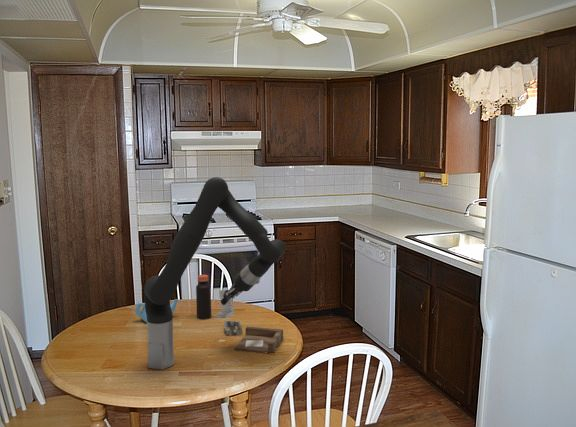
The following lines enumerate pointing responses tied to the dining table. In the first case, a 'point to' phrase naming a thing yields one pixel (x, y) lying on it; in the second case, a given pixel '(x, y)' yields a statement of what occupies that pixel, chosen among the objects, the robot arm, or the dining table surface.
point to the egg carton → (232, 327)
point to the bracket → (225, 307)
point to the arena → (260, 340)
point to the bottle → (203, 297)
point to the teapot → (143, 313)
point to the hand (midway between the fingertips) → (223, 302)
